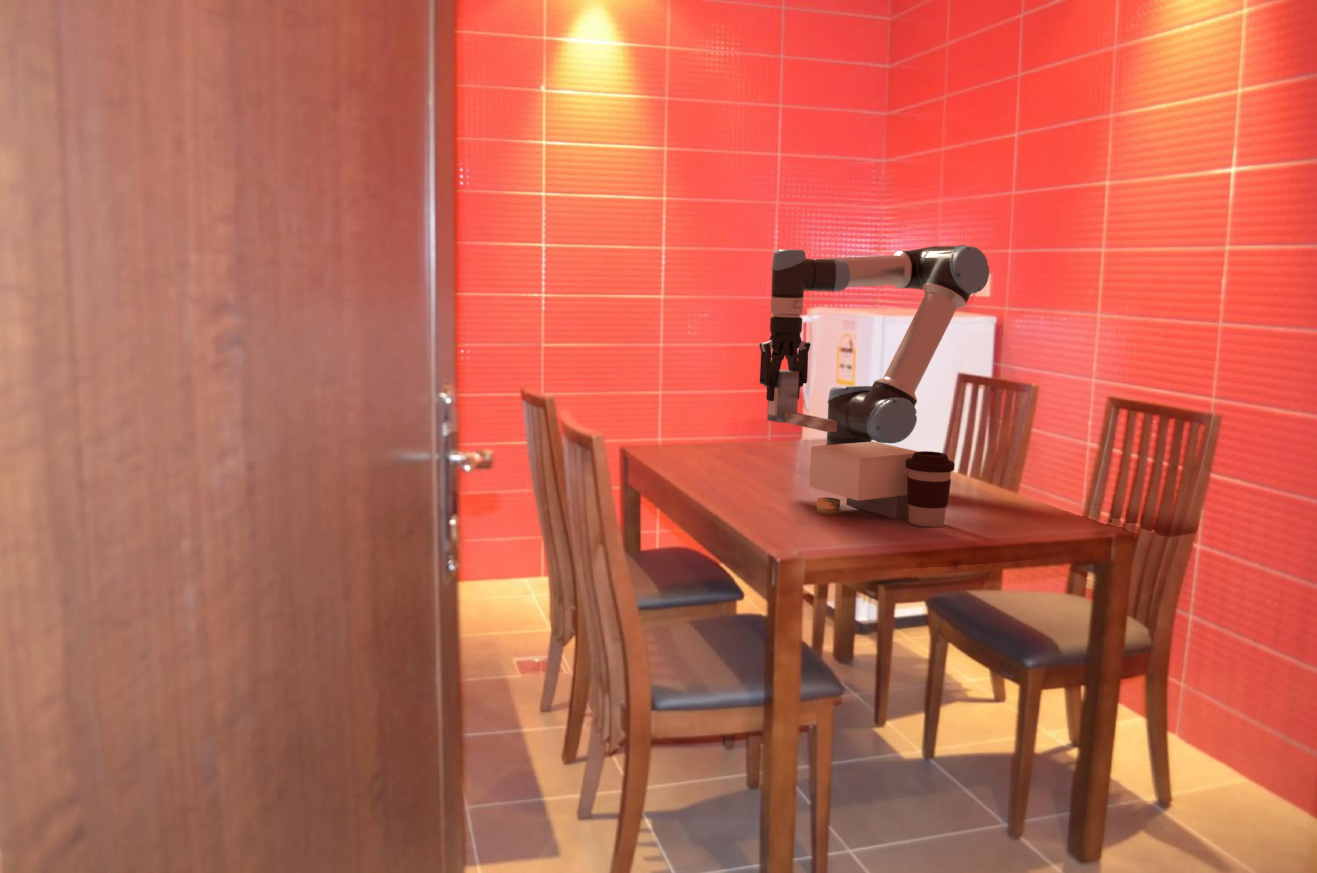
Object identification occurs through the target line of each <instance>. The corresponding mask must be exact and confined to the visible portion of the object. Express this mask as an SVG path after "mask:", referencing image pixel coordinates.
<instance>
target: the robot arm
mask: <svg viewBox="0 0 1317 873" xmlns="http://www.w3.org/2000/svg"><path fill="white" fill-rule="evenodd" d="M771 264H772V266H771V292H770V293H771V296H770V297H771V299H770V312H769V313H770V314H771V315H772V316H771V317H770V319H769V320H770V321H769V323H770V324H769V331H770V337H769V340H767V341H765V342H760V343H759V349H760V365H759V366H760V369H759V384H760V385H763V386H764V387H766V401H767V413H768V414H771V415H777V412H778V388H776V387H775V386H776V383H777V379H778V375H779V371H780V370H781V366H782V361H784V360H785V359H786V360H787V367H788V370H791V371H799V382H798V400H800V393H801V392H800V390H801V388H802V387H803V386H804V384H807V383H808V375H809V373H808V372H809V369H808V368H809V351H810V349H811V343H810V342H807V341H804V340H802V338H801V337H802V336H801V333H802V331H803V318H802V317H801V316H802V315H803V313H804V310H803V309H804V294H805V293H804V292H809V291H811V292H831V293H834V292H842V291H844V290H845V289H847V288H858V287H860V288H861V287H877V286H878V287H879V286H881V287H882V286H893V287H895V288H896V289H913V290H921V291H923V293H924V297H923V298H922V301H921V302H920V304H919V306H918V308H917V310H916V312H915V314H914V316H913V318H912V320H911V322H910V324H909V326H908V328H907V330H906V332H905V334H904V336H903V338H902V340H901V342H900V344H899V346H898V348H897V350H896V351H895V354H894V355H893V357H892V360H891V361H890V363H889V366H888V368H886V371H885V374H884V376H883V377H882V378H880V379H876V380H874V382H873V384H872V385H859V386H857V385H855V386H852V385H851V386H849V385H848V386H834V387H832V388H831V389H830V390H829V394H828V400H827V405H828V407H827V419H830V420H835V421H837V430H836V432H826V444H825V445H836V444H849V443H862V442H873V441H874V442H877V443H882V444H897V443H900V442H902V441H905V439H907V438H908V437H910V435H911V434H912V432H913V431H914V428H916V424H917V421H918V420H917V419H918V417H917V415H916V414H917V409H916V407H915V406H916V404H917V403H918V399H917V396H916V390H917V389H918V386H919V385H920V383H921V381H922V379H923V377H924V375H925V373H926V371H927V368H928V367H929V364H930V363H931V360H932V359H933V357H934V355H935V353H936V351H937V349H938V347H939V345H940V343H941V341H942V340H943V337H944V335H945V332H946V331H947V329H948V326H949V325H950V323H951V321H952V319H953V317H954V316H955V313H956V311H957V309H961V308H964V307H965V306H966V304H967V303H968V301H969V299H970V297H971V295H973V294H977V293H978V292H981V291H982V290H983V289H984V288H985V287H986V286H987V283H988V281H989V277H990V266H989V264H988V259H987V256H986V255H985V254H984V252H983V251H982V250H981V249H979V248H978V247H977V246H976V247H975V246H972V245H964V244H960V245H944V246H943V245H942V246H941V245H937V246H936V245H935V246H928V247H923V248H916V249H910V250H902V251H901V250H900V251H896V252H894V253H893V255H876V256H875V255H872V256H871V255H870V256H868V255H867V256H851V257H849V256H846V257H845V256H844V257H824V258H822V257H821V258H807V257H806V252H805V250H803V249H776V250H775V251H774V253H773V256H772V263H771ZM768 401H769V402H768Z"/></svg>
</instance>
